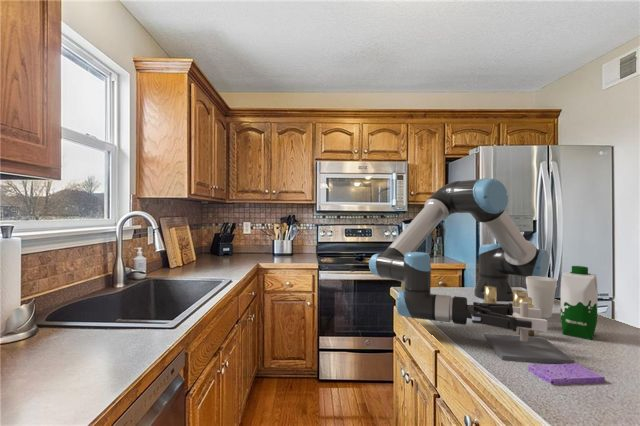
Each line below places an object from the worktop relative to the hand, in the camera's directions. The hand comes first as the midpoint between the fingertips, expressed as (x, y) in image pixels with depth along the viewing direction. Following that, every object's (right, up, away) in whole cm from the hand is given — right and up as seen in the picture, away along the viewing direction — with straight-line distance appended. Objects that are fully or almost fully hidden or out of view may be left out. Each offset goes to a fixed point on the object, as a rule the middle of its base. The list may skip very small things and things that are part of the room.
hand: (543, 319), depth 91 cm
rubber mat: (-4, -8, +2) cm, 9 cm away
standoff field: (+6, -8, +25) cm, 27 cm away
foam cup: (+21, -9, +34) cm, 41 cm away
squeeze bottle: (-19, -9, +61) cm, 64 cm away
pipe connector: (-4, -6, +2) cm, 8 cm away
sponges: (-4, -9, -13) cm, 17 cm away
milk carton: (+19, -9, +14) cm, 26 cm away
